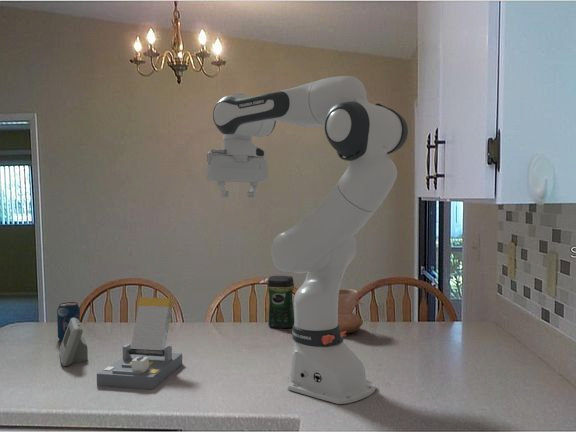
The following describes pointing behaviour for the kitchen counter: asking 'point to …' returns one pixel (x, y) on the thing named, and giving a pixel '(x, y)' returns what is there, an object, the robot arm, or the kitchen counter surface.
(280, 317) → the coffee jar
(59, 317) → the soda can
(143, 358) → the slide switch
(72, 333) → the digital clock
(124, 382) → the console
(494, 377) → the kitchen counter surface
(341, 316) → the ceramic jug
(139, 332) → the lever
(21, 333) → the kitchen counter surface
